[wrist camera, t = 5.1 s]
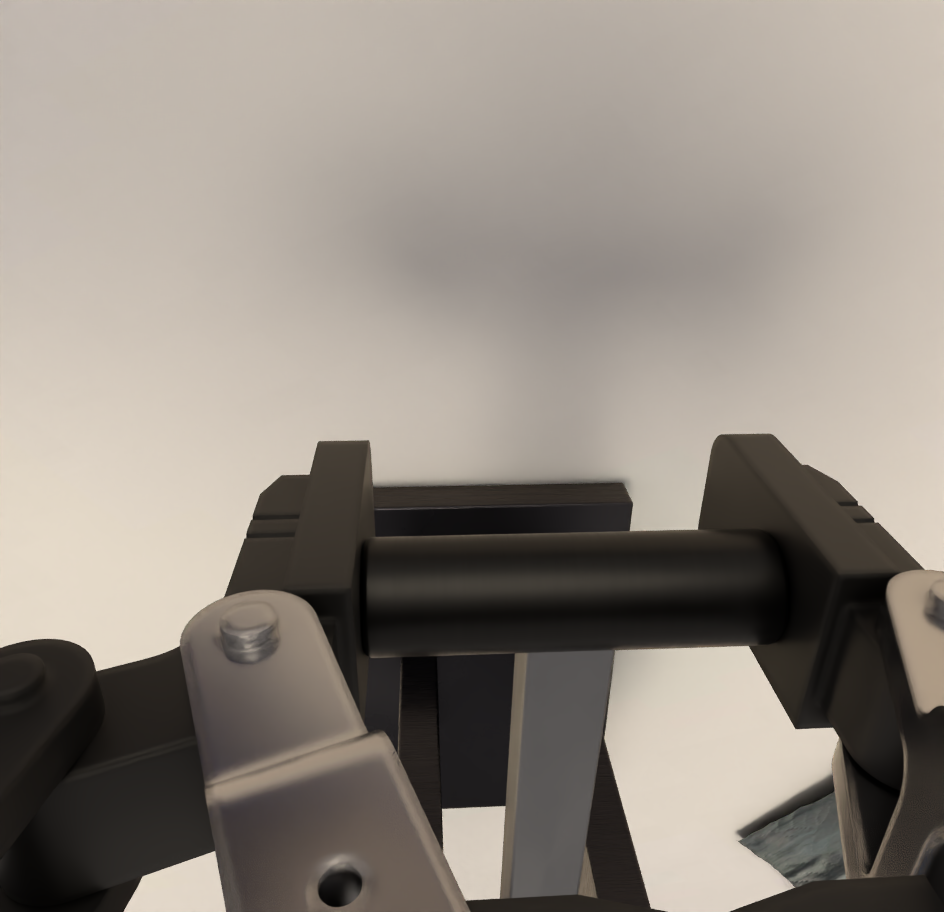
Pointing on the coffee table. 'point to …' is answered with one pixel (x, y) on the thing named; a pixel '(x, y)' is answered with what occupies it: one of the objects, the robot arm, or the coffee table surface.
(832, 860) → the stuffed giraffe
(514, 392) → the coffee table surface
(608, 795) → the bracket
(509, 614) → the lever
